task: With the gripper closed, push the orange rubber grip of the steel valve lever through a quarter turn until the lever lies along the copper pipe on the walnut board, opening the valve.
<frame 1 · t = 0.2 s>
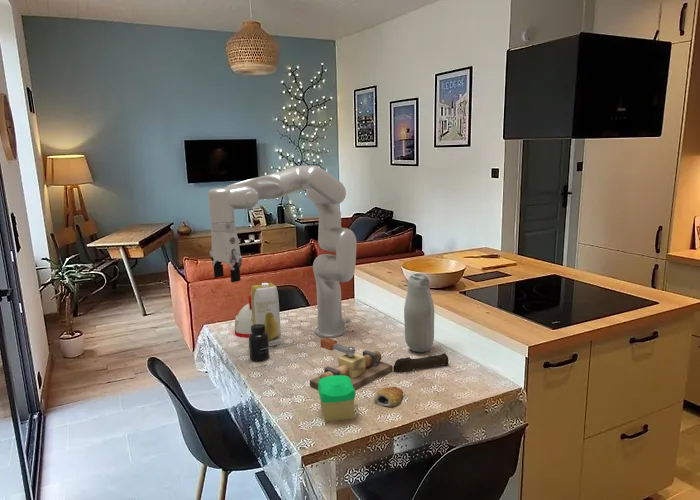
hand: (227, 279, 166), 31 cm above the table, tool pointing down, fingers open, 9 cm apart
grey bottle: (419, 350, 183), on the table
juice carton: (267, 344, 193), on the table
pastry: (389, 401, 147), on the table
supplement bottle: (259, 358, 180), on the table
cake: (337, 413, 141), on the table
valve lever: (338, 347, 164), point 9 cm above the table, hinge at 0.0°
white and red dome: (252, 332, 207), on the table
pipe board: (352, 378, 162), on the table
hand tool: (421, 370, 167), on the table
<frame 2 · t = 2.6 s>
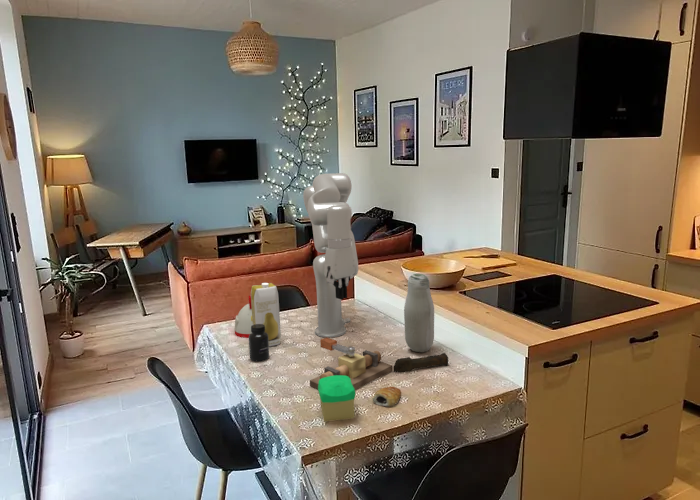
hand: (341, 297, 169), 23 cm above the table, tool pointing down, fingers closed
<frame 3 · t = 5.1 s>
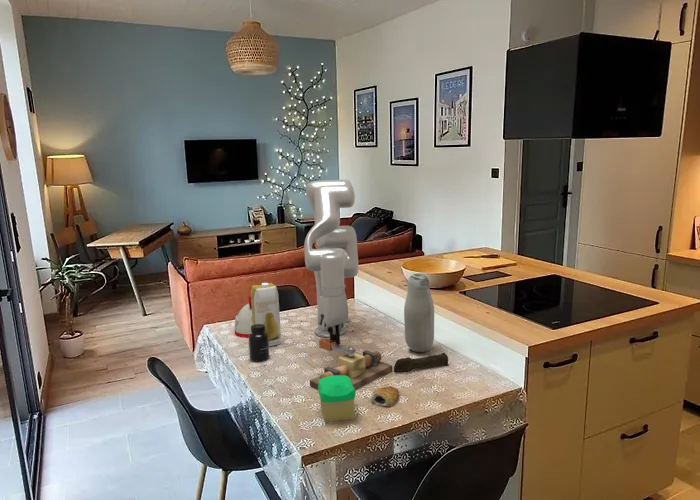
hand: (335, 344, 169), 8 cm above the table, tool pointing down, fingers closed
valve lever: (337, 347, 164), point 9 cm above the table, hinge at 3.1°, touching gripper
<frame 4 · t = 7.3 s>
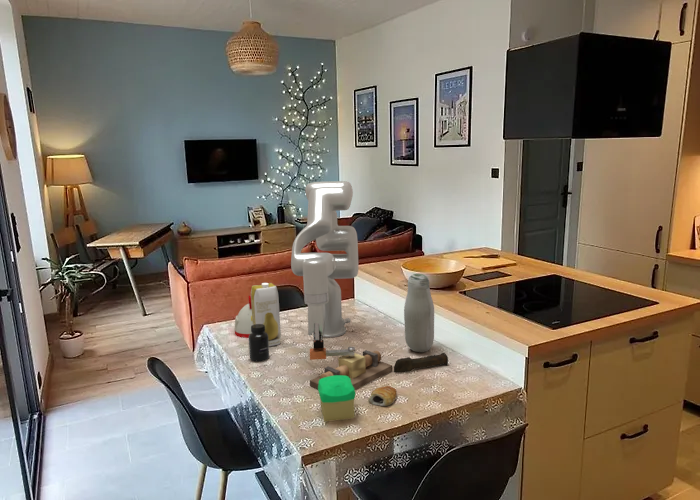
hand: (318, 352, 163), 8 cm above the table, tool pointing down, fingers closed
valve lever: (332, 353, 160), point 9 cm above the table, hinge at 48.0°, touching gripper
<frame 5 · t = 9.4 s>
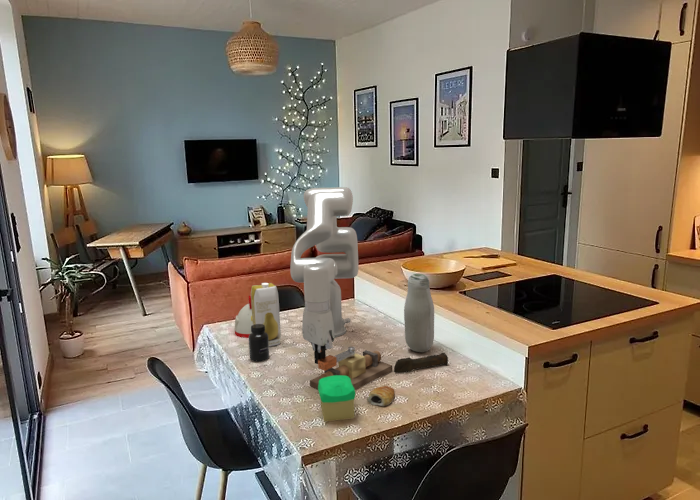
hand: (320, 362, 155), 8 cm above the table, tool pointing down, fingers closed
valve lever: (338, 358, 156), point 9 cm above the table, hinge at 91.4°, touching gripper
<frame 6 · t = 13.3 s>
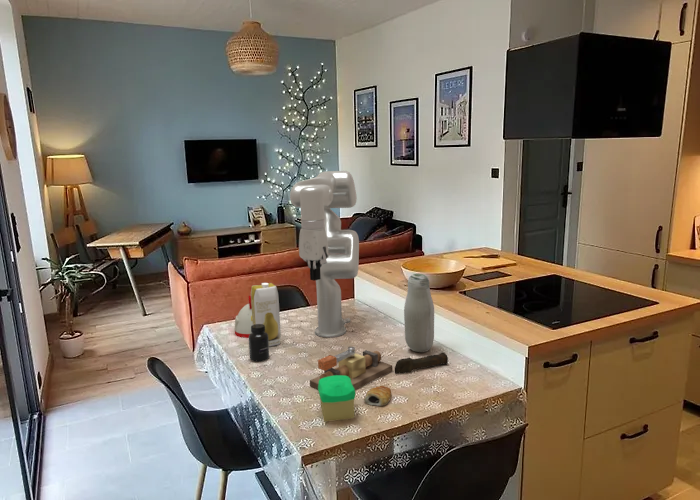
hand: (315, 279, 170), 29 cm above the table, tool pointing down, fingers closed
valve lever: (338, 358, 156), point 9 cm above the table, hinge at 91.5°
at the end: valve lever at +92° (first picture: +0°) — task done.
